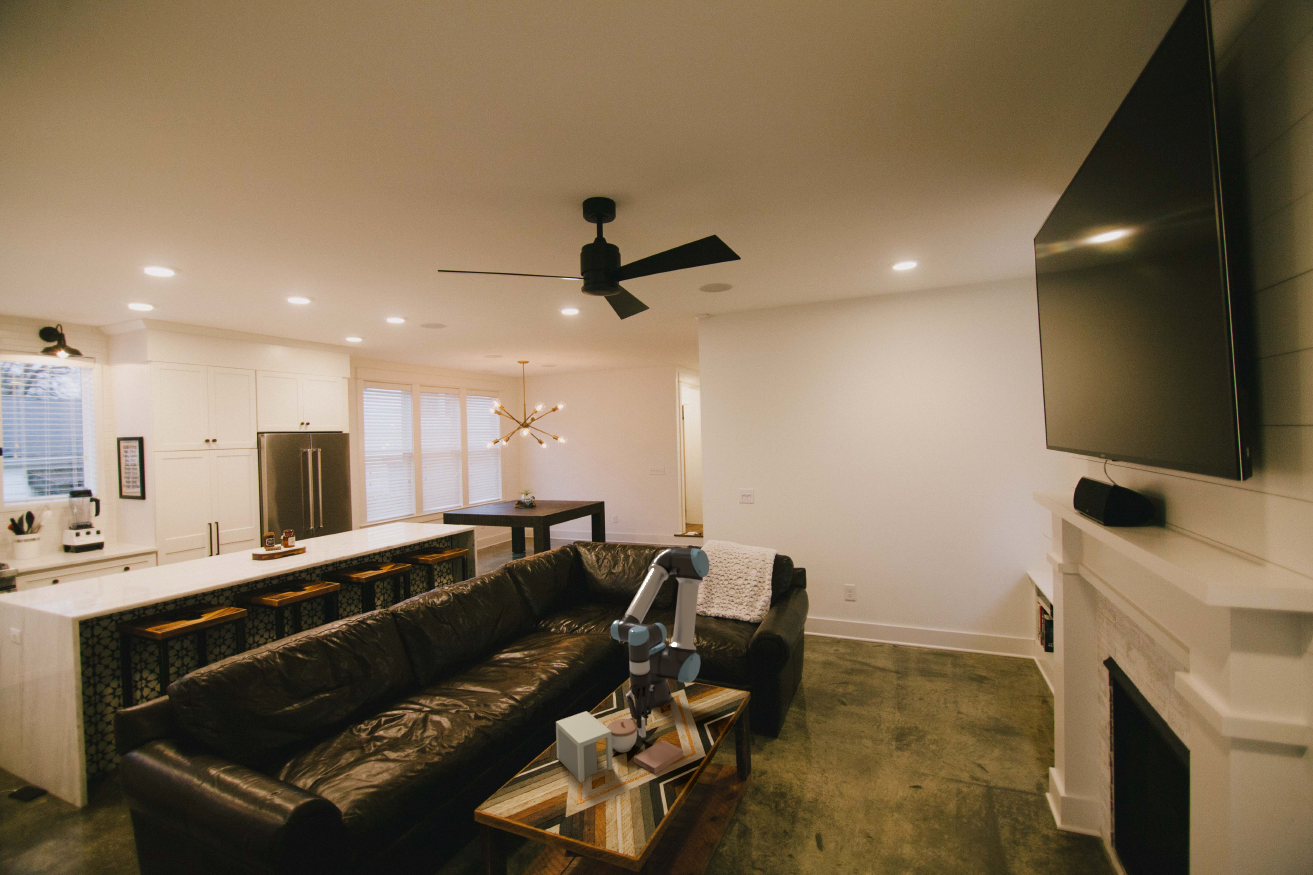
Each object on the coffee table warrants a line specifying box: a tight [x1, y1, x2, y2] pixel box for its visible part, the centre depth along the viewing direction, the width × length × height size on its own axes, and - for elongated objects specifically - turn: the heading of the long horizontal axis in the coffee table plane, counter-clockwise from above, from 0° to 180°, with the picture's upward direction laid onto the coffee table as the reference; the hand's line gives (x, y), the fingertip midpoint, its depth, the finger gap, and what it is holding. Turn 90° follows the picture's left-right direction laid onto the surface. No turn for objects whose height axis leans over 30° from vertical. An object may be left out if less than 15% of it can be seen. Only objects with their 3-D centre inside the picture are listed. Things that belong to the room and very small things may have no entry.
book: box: [633, 739, 684, 775], centre depth 185 cm, size 14×10×2 cm
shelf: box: [555, 710, 614, 783], centre depth 185 cm, size 12×18×12 cm, turn 35°
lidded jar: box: [606, 718, 638, 753], centre depth 193 cm, size 11×11×9 cm
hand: (642, 735), depth 198 cm, fingers closed
